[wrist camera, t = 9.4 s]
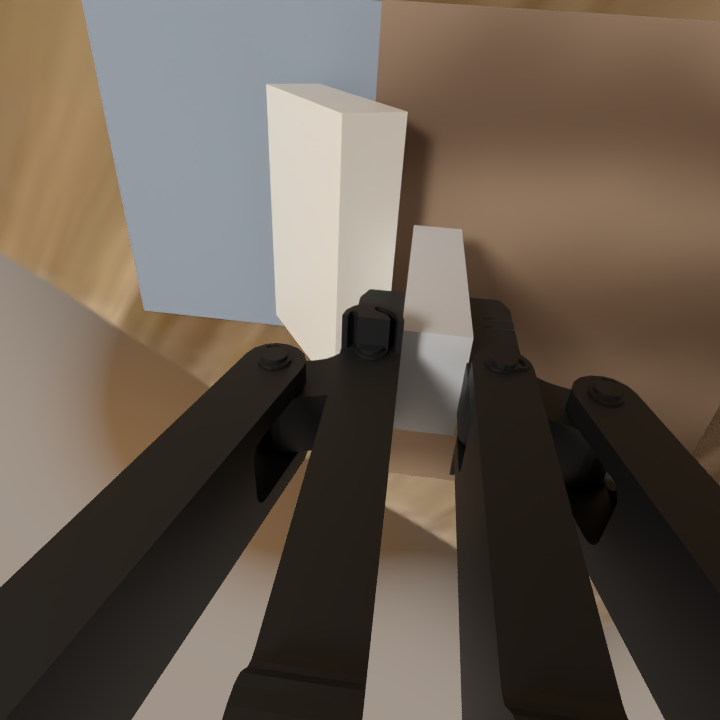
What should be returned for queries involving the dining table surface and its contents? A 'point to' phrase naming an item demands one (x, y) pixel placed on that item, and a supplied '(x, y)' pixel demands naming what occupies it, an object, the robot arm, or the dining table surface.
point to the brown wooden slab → (568, 191)
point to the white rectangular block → (331, 205)
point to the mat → (213, 132)
